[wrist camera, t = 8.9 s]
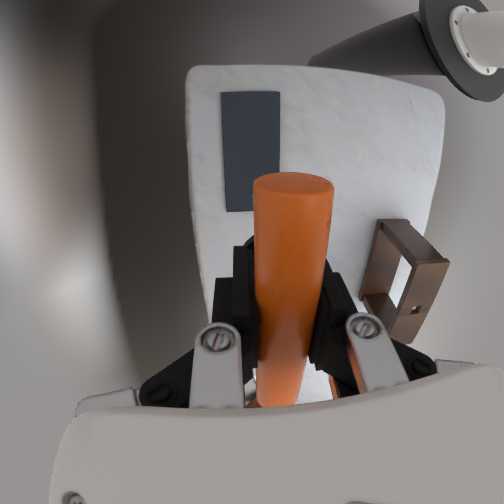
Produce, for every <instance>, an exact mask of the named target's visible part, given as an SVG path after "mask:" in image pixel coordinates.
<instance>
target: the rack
mask: <svg viewBox="0 0 504 504" xmlns="http://www.w3.org/2000/svg"><path fill="white" fill-rule="evenodd" d="M401 254H402V255H403V257H404V258H405V259H406V260H407V262H408V263H409V264H410V265H411V267H412V269H411V272H410V275H409V277H408V280H407V283H406V286H405V288H404V291H403V293H402V296H401V299H400V301H399V304H398V306H397V309H396V307H395V305H394V304H393V302H392V300H391V298H390V297H389V295H388V294H389V291H390V288H391V286H392V283H393V280H394V277H395V274H396V271H397V267H398V264H399V261H400V258H401ZM449 264H450V261H449V260H448V259H447V258H443V257H442V256H441V255H440V254H439V253H438V252H437V251H436V249H434V247H433V246H432V245H431V244H430V243H429V242H428V241H427V240H426V239H425V238H424V237H423V236H422V235H421V234H420V233H419V232H418V231H416V230H415V229H414V228H413V227H412V226H411V225H410V222H409V221H408V220H400V219H377V224H376V229H375V233H374V238H373V243H372V247H371V251H370V255H369V260H368V264H367V267H366V271H365V275H364V279H363V283H362V286H361V290H360V293H359V297H358V299H359V301H362V302H363V304H364V306H365V308H366V310H367V312H368V313H369V314H372V315H374V316H376V317H377V318H379V319H380V320H381V322H382V323H383V324H384V327H385V329H386V331H387V333H388V335H389V337H390V338H392V339H394V340H396V341H398V342H400V343H402V344H404V345H406V344H410V343H412V342H413V340H414V338H415V337H416V335H417V333H418V331H419V329H420V327H421V325H422V324H423V322H424V320H425V318H426V316H427V314H428V312H429V310H430V308H431V305H432V303H433V302H434V299H435V297H436V295H437V293H438V290H439V288H440V286H441V283H442V281H443V279H444V277H445V274H446V272H447V269H448V267H449ZM415 306H416V309H415V310H412V308H413V307H415Z"/></svg>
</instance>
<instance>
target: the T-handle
mask: <svg viewBox="0 0 504 504" xmlns="http://www.w3.org/2000/svg"><path fill="white" fill-rule="evenodd" d="M333 197H334V186H333V184H332V183H331V182H330V181H328V180H326V179H324V178H322V177H319V176H315V175H311V174H305V173H296V172H279V173H271V174H267V175H263V176H260V177H258V178H257V179H256V180H255V181H254V183H253V195H252V200H253V207H254V235H253V236H252V237H251V238H249V239H248V240H247V241H246V242H245V244H244V245H243V246H247V249H252V254H253V266H254V277H255V297H256V300H257V311H258V368H256V398H257V401H258V403H259V404H260V405H261V406H262V407H276V406H287V405H294V404H295V403H296V401H297V398H298V395H299V391H300V387H301V383H302V379H303V375H304V370H305V366H306V362H307V357H308V353H309V348H310V344H311V339H312V334H313V329H314V324H315V319H316V314H317V309H318V303H319V298H320V292H321V286H322V280H323V274H324V268H325V261H326V254H327V247H328V240H329V232H330V224H331V216H332V207H333Z"/></svg>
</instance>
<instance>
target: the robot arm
mask: <svg viewBox="0 0 504 504" xmlns="http://www.w3.org/2000/svg"><path fill="white" fill-rule="evenodd" d="M449 23H450V30H451V34H452V37H453V40H454V42H455V45H456V47H457V49H458V51H459V53H460V54H461V56H462V57H463V59H464V60H465V61H466V63H467V64H468V65H469V66H470V67H471V68H472V69H473V70H475V71H476V72H478V73H480V74H483V75H491V74H493V73H495V72H496V70H497V68H504V11H491V12H479V13H477V12H476V11H475V10H473V9H472V8H470V7H467V6H457V7H455V8H453V9H452V11H451V13H450V18H449ZM308 356H309V361H310V363H311V364H313V363H315V368H316V371H318V370H323V371H324V372H326V373H327V374H329V375H328V377H329V383H330V387H331V391H332V395H333V399H332V400H326V401H320V402H313V403H305V404H296V405H287V406H276V407H262V408H245V389H244V385H245V384H246V383H247V382H248V381H250V380H251V379H252V378H253V368H258V311H257V300H256V297H255V277H254V266H253V254H252V249H247V246H234V251H233V277H228V278H216V281H215V291H214V301H213V312H212V323H211V324H209V325H206V326H204V327H203V328H202V329H200V331H199V332H198V334H197V336H196V340H195V348H193V349H192V350H191V351H189V352H188V353H186V354H185V355H183V356H182V357H181V358H179V359H178V360H176V361H175V362H173V363H172V364H171V365H169V366H168V367H166V368H165V369H163V370H162V371H160V372H159V373H157V374H156V375H154V376H153V377H151V378H150V379H148V380H147V381H146V382H145V383H144V384H143V385H142V386H141V388H138V389H133V387H130V388H126V389H122V390H118V391H113V392H109V393H104V394H99V395H94V396H89V397H86V398H83V399H82V400H81V401H80V402H78V404H77V406H76V409H75V419H74V420H73V421H72V422H71V423H70V424H69V426H68V427H67V429H66V431H65V433H64V435H63V438H62V440H61V442H60V445H59V449H58V452H57V455H56V459H55V463H54V468H53V472H52V477H51V483H50V490H49V499H48V504H504V371H503V370H502V369H501V368H499V367H497V366H494V365H489V364H474V363H471V362H463V361H451V360H440V359H436V360H435V361H434V362H433V361H432V359H431V358H430V357H428V356H427V355H425V354H423V353H421V352H419V351H417V350H415V349H413V348H411V347H408V346H406V345H404V344H402V343H400V342H398V341H396V340H394V339H392V338H390V337H389V335H388V333H387V331H386V329H385V327H384V324H383V323H382V322H381V320H380V319H379V318H377V317H376V316H374V315H372V314H369V313H365V312H359V313H358V311H357V308H356V306H355V304H354V302H353V300H352V298H351V296H350V294H349V292H348V289H347V287H346V285H345V283H344V281H343V279H342V277H341V275H340V274H339V273H338V272H332V269H331V267H330V265H329V263H328V261H327V259H326V261H325V268H324V274H323V280H322V286H321V292H320V298H319V303H318V309H317V314H316V319H315V324H314V329H313V334H312V339H311V344H310V348H309V353H308Z"/></svg>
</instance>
